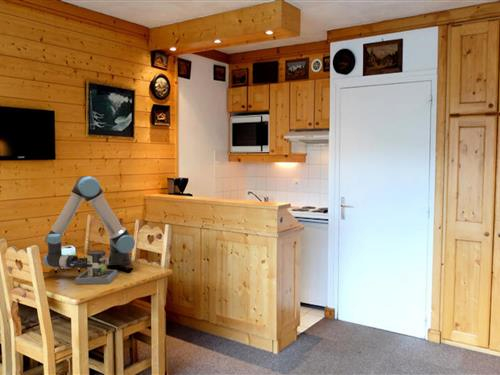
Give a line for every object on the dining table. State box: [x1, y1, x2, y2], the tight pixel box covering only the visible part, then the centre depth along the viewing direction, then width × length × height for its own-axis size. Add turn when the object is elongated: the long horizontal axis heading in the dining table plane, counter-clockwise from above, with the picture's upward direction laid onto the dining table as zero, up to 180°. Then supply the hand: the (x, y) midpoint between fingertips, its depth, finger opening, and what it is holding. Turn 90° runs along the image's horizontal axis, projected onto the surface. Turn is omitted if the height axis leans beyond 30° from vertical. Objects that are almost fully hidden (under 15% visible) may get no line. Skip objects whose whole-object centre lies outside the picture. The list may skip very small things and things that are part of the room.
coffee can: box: [86, 249, 107, 278], centre depth 264 cm, size 10×10×14 cm
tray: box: [74, 269, 118, 285], centre depth 265 cm, size 18×18×3 cm
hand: (103, 263), depth 263 cm, fingers closed on coffee can, 10 cm apart
